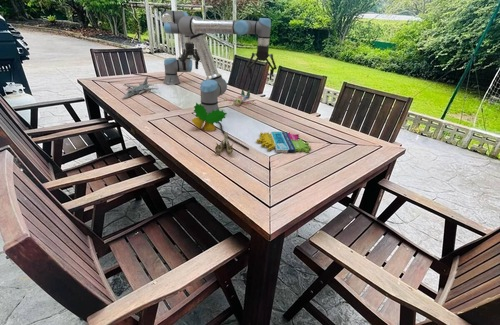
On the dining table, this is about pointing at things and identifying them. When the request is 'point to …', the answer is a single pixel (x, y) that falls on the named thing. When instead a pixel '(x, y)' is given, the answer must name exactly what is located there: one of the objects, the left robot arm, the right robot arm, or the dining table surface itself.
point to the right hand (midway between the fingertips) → (260, 79)
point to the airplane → (138, 89)
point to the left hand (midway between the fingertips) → (190, 69)
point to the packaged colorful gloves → (283, 142)
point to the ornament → (207, 117)
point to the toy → (241, 99)
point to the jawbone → (224, 145)
